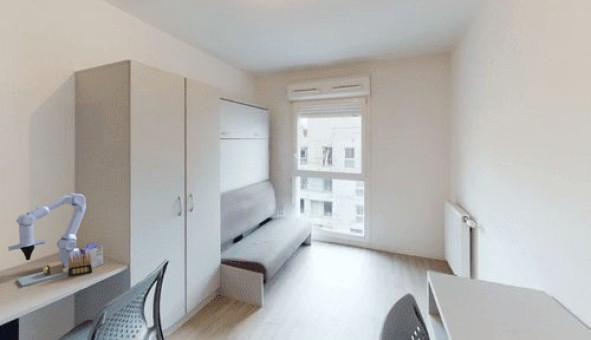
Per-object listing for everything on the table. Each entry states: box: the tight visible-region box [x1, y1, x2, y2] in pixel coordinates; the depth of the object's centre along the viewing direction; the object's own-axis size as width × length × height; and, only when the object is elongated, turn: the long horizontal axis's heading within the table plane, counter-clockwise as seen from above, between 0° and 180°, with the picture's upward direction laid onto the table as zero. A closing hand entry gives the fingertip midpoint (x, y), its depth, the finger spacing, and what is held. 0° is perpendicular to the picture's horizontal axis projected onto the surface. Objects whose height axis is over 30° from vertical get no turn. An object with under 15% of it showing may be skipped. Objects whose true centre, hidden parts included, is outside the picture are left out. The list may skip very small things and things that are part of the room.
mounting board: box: [17, 260, 68, 288], centre depth 151 cm, size 18×12×6 cm, turn 144°
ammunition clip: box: [67, 253, 93, 278], centre depth 156 cm, size 11×2×12 cm, turn 121°
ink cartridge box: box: [80, 242, 104, 269], centre depth 166 cm, size 10×6×14 cm, turn 155°
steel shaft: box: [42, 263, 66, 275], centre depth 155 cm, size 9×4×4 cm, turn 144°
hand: (28, 259), depth 152 cm, fingers closed
